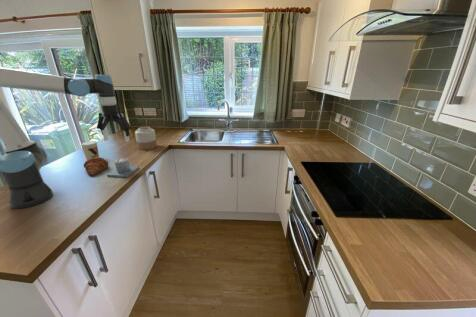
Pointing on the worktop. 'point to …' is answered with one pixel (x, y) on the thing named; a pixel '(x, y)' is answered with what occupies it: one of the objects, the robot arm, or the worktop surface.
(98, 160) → the pastry
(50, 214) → the worktop surface
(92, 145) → the coffee cup
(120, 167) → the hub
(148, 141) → the vase
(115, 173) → the shaft block
